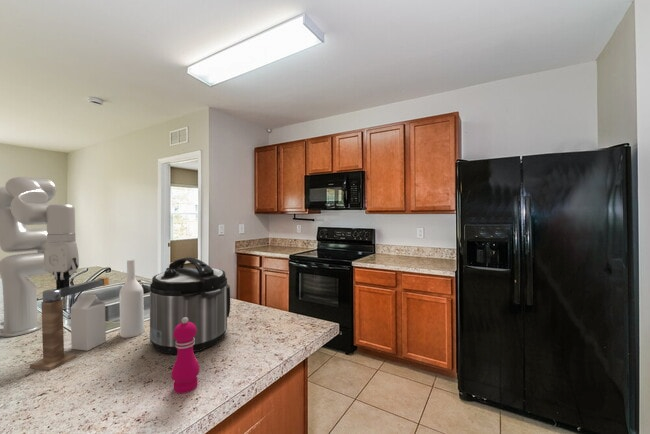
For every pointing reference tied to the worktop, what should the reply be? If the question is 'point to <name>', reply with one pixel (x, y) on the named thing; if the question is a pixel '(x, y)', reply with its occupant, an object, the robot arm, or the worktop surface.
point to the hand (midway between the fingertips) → (63, 290)
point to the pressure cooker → (188, 304)
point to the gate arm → (73, 289)
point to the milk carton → (87, 323)
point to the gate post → (52, 337)
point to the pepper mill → (185, 358)
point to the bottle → (131, 304)
